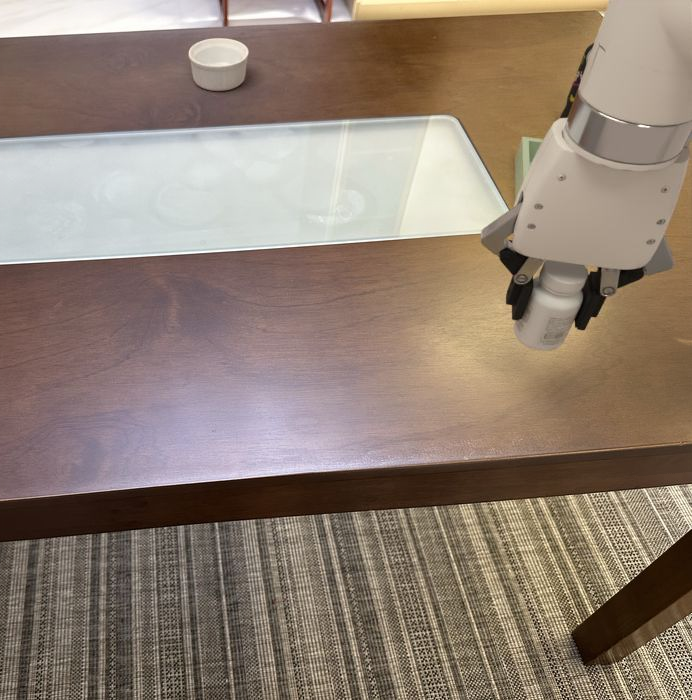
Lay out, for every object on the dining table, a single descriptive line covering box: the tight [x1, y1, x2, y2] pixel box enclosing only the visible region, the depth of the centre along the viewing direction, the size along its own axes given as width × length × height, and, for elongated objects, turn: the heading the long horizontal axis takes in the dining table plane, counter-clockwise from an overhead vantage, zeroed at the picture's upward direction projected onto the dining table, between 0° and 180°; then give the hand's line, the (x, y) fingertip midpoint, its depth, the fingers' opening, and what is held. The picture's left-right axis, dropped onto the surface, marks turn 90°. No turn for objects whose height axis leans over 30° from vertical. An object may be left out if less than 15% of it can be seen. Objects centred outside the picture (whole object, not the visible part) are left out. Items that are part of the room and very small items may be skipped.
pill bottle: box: [512, 260, 589, 352], centre depth 61 cm, size 4×4×8 cm
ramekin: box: [188, 37, 250, 92], centre depth 108 cm, size 9×9×4 cm
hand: (547, 312), depth 62 cm, fingers closed on pill bottle, 4 cm apart
